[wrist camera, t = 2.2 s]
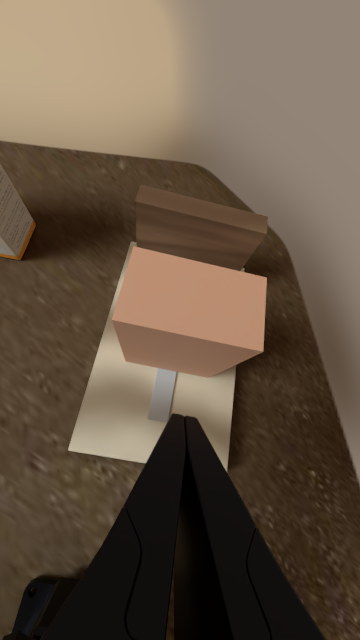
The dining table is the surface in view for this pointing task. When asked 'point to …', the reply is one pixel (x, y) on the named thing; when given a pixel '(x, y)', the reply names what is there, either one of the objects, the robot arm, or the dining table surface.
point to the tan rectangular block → (188, 314)
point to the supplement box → (13, 220)
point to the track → (155, 383)
